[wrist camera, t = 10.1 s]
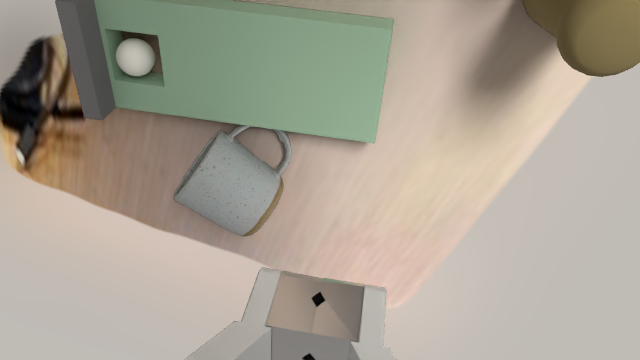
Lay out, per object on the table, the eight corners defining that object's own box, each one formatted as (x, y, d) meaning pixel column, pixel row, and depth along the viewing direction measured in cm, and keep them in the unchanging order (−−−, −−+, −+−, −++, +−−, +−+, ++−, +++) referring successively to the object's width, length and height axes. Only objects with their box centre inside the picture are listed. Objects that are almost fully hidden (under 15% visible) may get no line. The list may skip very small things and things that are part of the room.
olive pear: (531, 40, 38) (565, 105, 29) (514, -38, 35) (547, 9, 26) (618, 11, 35) (685, 72, 27) (608, -75, 32) (679, -38, 24)
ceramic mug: (256, 208, 52) (235, 258, 46) (191, 165, 50) (160, 211, 44) (314, 145, 46) (300, 192, 40) (244, 93, 44) (217, 134, 38)
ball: (126, 29, 43) (105, 42, 40) (160, 36, 42) (140, 49, 40) (131, 64, 44) (111, 77, 42) (163, 71, 44) (144, 85, 41)
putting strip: (82, -17, 41) (46, -1, 37) (393, 19, 38) (391, 41, 34) (106, 92, 46) (76, 116, 42) (376, 129, 44) (372, 159, 40)
